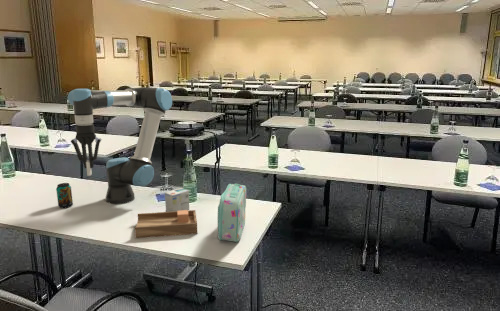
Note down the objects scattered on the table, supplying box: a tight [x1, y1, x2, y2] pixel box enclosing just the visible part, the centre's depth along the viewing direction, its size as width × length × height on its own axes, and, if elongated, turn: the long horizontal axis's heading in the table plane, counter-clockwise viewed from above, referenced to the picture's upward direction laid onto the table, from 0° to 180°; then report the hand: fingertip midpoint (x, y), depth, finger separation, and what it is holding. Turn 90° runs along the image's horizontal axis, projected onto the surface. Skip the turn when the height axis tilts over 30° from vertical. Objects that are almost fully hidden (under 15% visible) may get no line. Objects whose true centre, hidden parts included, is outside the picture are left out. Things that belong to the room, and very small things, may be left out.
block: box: [177, 210, 189, 223], centre depth 187 cm, size 5×5×4 cm
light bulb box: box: [164, 187, 190, 212], centre depth 204 cm, size 11×7×11 cm, turn 134°
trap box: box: [134, 209, 198, 239], centre depth 184 cm, size 16×27×5 cm, turn 101°
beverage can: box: [55, 182, 74, 209], centre depth 209 cm, size 7×7×12 cm
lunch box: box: [217, 183, 247, 243], centre depth 179 cm, size 27×10×21 cm, turn 174°
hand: (89, 174), depth 183 cm, fingers closed
